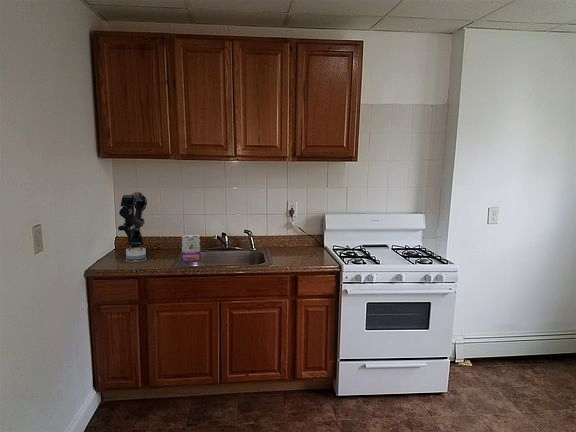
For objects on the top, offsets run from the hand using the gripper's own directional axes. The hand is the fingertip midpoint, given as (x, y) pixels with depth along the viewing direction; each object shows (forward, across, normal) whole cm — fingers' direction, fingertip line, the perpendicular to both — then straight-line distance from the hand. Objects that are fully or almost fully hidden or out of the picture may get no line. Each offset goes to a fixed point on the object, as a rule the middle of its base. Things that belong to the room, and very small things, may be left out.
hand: (130, 239), depth 237 cm
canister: (+12, -5, -6) cm, 14 cm away
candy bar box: (+12, -3, -40) cm, 42 cm away
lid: (+8, -6, -6) cm, 11 cm away
